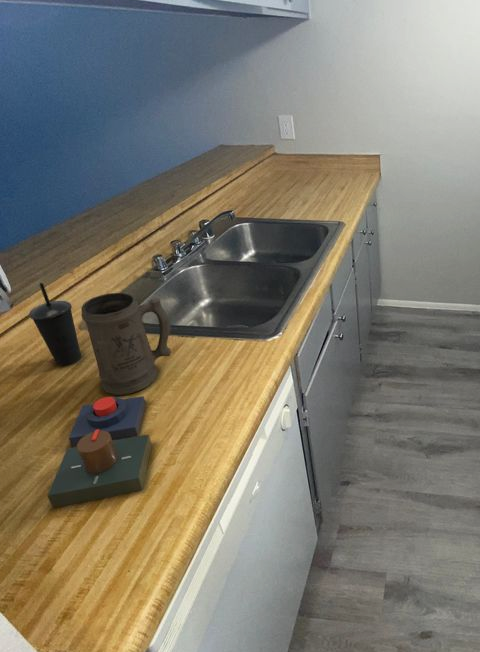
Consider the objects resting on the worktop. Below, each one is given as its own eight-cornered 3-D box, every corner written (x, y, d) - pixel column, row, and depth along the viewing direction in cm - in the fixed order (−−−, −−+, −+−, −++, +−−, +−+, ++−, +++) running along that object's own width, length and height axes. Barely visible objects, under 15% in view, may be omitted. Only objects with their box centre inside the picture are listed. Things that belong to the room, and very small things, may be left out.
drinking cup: (42, 361, 109) (12, 284, 99) (78, 346, 114) (53, 272, 105) (58, 374, 105) (27, 295, 96) (94, 357, 110) (69, 282, 101)
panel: (53, 508, 76) (46, 494, 74) (72, 460, 84) (66, 447, 83) (142, 490, 79) (138, 477, 78) (152, 446, 88) (148, 433, 86)
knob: (113, 470, 79) (105, 447, 77) (81, 476, 78) (71, 453, 75) (120, 449, 83) (113, 426, 81) (89, 454, 82) (81, 431, 79)
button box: (71, 446, 87) (65, 430, 85) (85, 413, 95) (79, 398, 93) (137, 435, 90) (133, 419, 88) (146, 404, 98) (141, 389, 96)
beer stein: (109, 404, 97) (90, 320, 89) (91, 380, 103) (72, 299, 95) (183, 375, 108) (173, 297, 99) (163, 355, 114) (151, 280, 105)
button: (93, 418, 89) (90, 411, 88) (98, 405, 92) (95, 398, 91) (114, 415, 90) (112, 408, 89) (118, 402, 93) (116, 395, 92)
